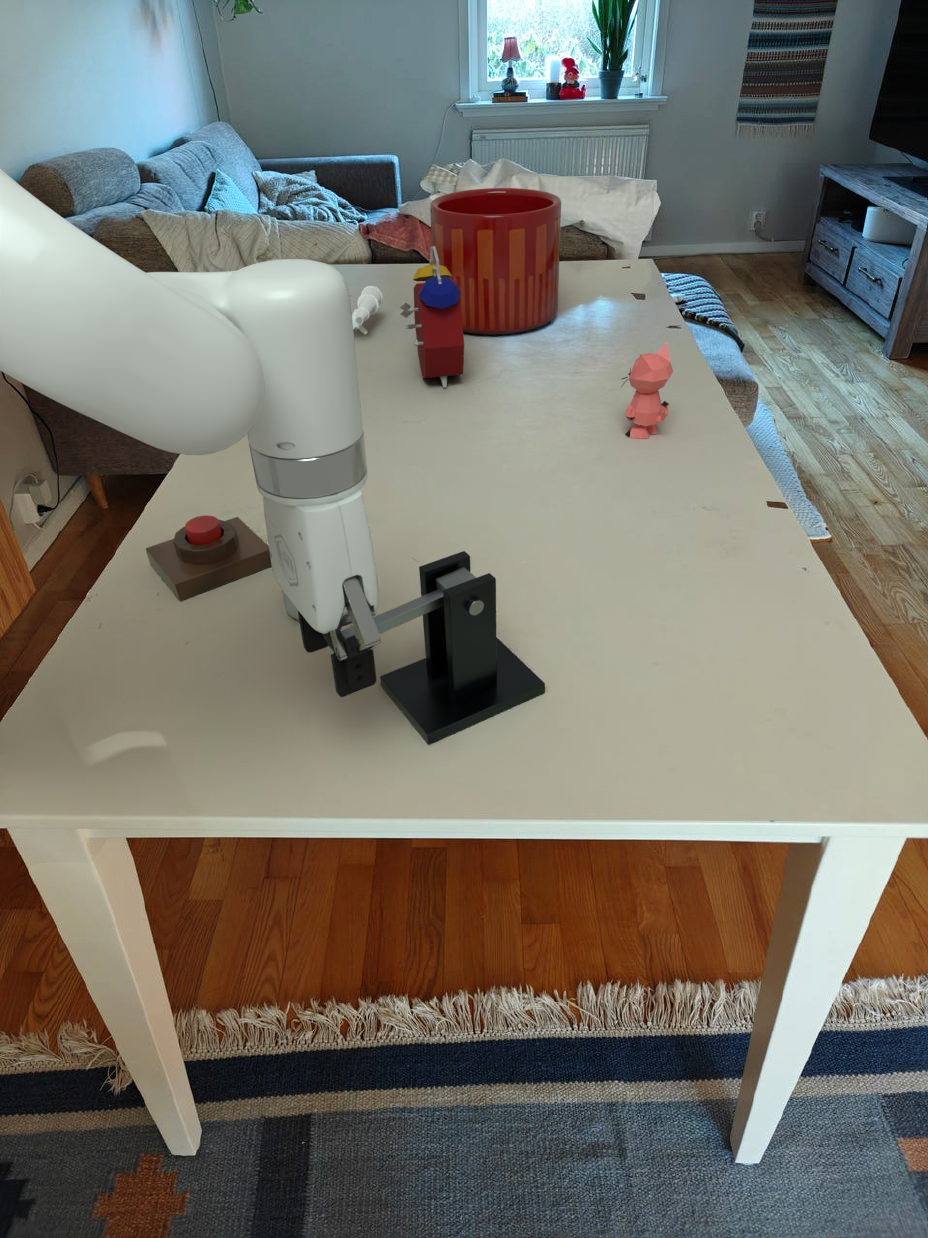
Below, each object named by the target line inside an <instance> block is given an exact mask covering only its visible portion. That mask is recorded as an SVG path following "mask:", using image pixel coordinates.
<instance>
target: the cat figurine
mask: <svg viewBox="0 0 928 1238" xmlns="http://www.w3.org/2000/svg"><path fill="white" fill-rule="evenodd" d="M673 374H674V368H673V366H672V363H671V357H670V351H669V344H668V342H665V344H664V345H663V346H662V347H661V348H660V349H659V351H658V352H657V353H652V352H646V353H642V354H640V353H639V356H638V357H637V358H635V361H634V364H633V366H632V367H630V368H629V372H628V376H625V377H622V378H621V380H625V379H626V380H625V381H624V382H623V383H622V385H620V388H622V387H623V386H624V384H625V383H626V382H628V381H629V383H630V386H631V388H633V389H635V392H634V394H633V396H632V399H631V402H630V404H629V405H628V406H627V408H626V410H625V415H624V416H625V418H627V421H628V422H631V423H633V424H636V425H633V426H632V427H630V429H628V430H627V431H626V433H625V434H624V435H625V436H626V437H628V438H630V439H639V440H640V439H649V438H650V437H651V436H650V434H651V435H657V434H658V430H657V424H658V423H659V422H660V423H662V422H663V421H665V419H666V418H667V416H668V415H669V407H668V406H669V405H670V403H669V402H668V401H665V400H664V401H663V402H662V400H661V395H660V391H659V390H661V389H663V388H664V387H665V386H666V384H667V382H668V380H669V379H670V378H671V376H672V375H673Z"/></svg>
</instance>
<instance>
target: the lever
mask: <svg viewBox="0 0 928 1238" xmlns="http://www.w3.org/2000/svg"><path fill="white" fill-rule="evenodd" d="M475 578H477V577H476V576H475V575H474V574H473V573H472V572H471V573H470V572H469V571H468V570H467V569H466V568H465V567H463V568H460V569H458V570H455V571H453V572H451V573H448V574H446V575H444V576H441V577H439V578H437V579H436V586H437V590H435V591H433V592H431V593H428V594H426V595H424V596H421V595H420V596H419V597H417V598H414V599H413V600H409V601H407V602H405V603H402V604H400V605H398V606H396V607H393V608H392V609H388V610H386V611H384V612H382V613H379V614H377V615H375V616H373V619H374V621H375V624H376V626H377V629H378V631H379V634H380V635H381V634H383V633H386V632H388V631H390V630H391V629H395V628H397V627H399V626H401V625H404V624H406V623H408V622H411V621H413V620H415V619H417V618H420V617H423V615H424V614H426V613H429V612H431V611H433V610H436V609H438V608H440V607H442V606H444V594H443V590H445V589H447V588H450V587H453V586H456V585H458V584H461V583H464V582H466V581H469V580H472V579H475ZM318 633H319V634H320V635H321V637H322V638H323V639H324V641H325V642H326V643H327V644H328V648H329V649H331V651H332V652H333V653H335V650H334V647H333V643H332V639H331V635H330V632H328V633H325V634H323V633H320V632H318ZM341 633H342V636H343V640H344V641H345V640H346V639H347V638H349V637H352V636H354V635H355V630H354V627H353V625H351V626H349V627H347V628H345V629H341Z"/></svg>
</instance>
